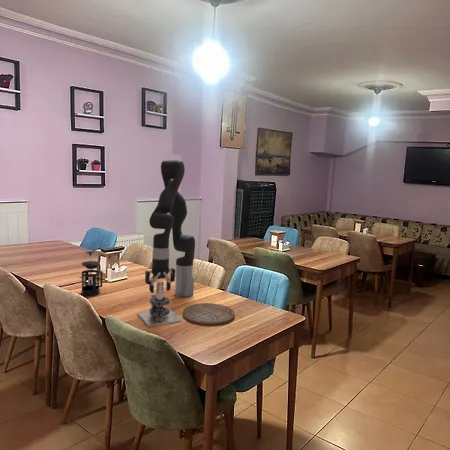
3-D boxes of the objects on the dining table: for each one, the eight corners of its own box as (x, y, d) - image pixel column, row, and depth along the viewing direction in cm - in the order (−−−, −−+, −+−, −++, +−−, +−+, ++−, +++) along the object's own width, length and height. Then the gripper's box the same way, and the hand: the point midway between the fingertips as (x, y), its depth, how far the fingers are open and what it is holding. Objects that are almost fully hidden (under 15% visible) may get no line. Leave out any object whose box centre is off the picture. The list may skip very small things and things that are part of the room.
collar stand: (168, 309, 202) (169, 292, 200) (182, 321, 188) (182, 302, 186) (137, 314, 194) (137, 296, 192) (148, 327, 180) (149, 307, 178)
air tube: (161, 314, 193) (162, 281, 191) (164, 316, 190) (164, 282, 188) (154, 315, 191) (155, 281, 189) (157, 317, 188) (157, 283, 186)
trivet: (206, 303, 214) (206, 299, 214) (244, 316, 199) (245, 312, 199) (171, 315, 195) (171, 311, 195) (211, 331, 180) (211, 327, 179)
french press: (84, 298, 212) (84, 254, 208) (77, 293, 219) (76, 251, 215) (105, 293, 220) (105, 252, 216) (97, 289, 227) (97, 248, 223)
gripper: (172, 253, 193) (171, 287, 195) (142, 256, 186) (142, 291, 188) (178, 257, 186) (177, 292, 189) (148, 260, 179) (147, 296, 182)
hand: (159, 291), depth 189 cm, fingers open, 7 cm apart
